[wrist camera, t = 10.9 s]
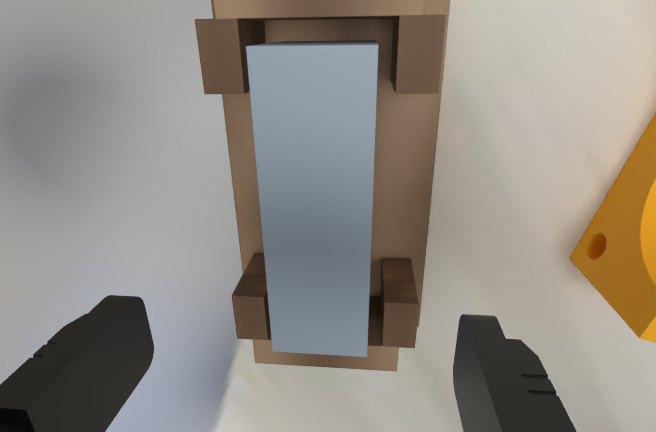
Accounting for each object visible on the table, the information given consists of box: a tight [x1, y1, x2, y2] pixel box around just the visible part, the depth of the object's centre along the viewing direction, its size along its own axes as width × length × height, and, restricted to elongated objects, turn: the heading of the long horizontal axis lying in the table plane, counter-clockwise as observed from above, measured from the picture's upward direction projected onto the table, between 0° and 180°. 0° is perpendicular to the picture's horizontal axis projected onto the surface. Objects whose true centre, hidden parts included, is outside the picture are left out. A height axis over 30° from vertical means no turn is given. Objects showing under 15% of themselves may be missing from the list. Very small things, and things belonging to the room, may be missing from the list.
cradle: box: [195, 0, 450, 371], centre depth 19 cm, size 10×18×5 cm, turn 1°
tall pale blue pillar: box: [246, 40, 378, 357], centre depth 18 cm, size 4×13×6 cm, turn 1°
